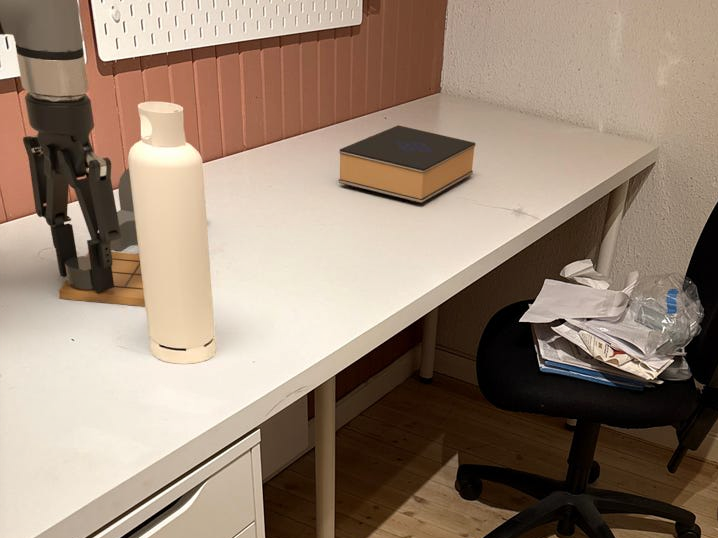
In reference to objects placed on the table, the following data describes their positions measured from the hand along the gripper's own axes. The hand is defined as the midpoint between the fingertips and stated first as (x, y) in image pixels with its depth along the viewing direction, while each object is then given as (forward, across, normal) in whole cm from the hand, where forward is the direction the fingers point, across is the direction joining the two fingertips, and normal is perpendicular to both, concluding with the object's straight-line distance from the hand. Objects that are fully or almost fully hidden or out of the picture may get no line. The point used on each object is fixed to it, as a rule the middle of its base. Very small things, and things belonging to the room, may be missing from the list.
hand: (87, 281), depth 132 cm
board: (+2, -1, -7) cm, 7 cm away
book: (+2, +4, -80) cm, 81 cm away
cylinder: (0, 0, 0) cm, 0 cm away
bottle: (+2, -22, +4) cm, 22 cm away
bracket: (+2, +11, -23) cm, 25 cm away
